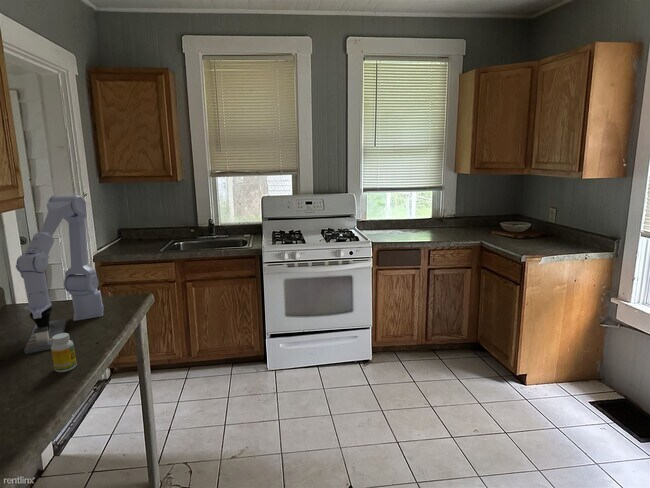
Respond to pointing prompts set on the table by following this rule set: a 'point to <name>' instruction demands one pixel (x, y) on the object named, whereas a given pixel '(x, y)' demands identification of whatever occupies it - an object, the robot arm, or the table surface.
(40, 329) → the fader tab
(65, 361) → the supplement bottle
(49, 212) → the robot arm
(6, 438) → the table surface
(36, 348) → the console
